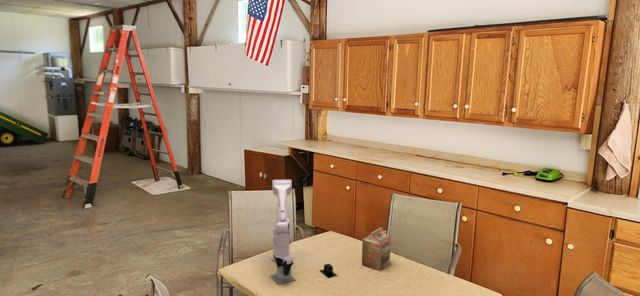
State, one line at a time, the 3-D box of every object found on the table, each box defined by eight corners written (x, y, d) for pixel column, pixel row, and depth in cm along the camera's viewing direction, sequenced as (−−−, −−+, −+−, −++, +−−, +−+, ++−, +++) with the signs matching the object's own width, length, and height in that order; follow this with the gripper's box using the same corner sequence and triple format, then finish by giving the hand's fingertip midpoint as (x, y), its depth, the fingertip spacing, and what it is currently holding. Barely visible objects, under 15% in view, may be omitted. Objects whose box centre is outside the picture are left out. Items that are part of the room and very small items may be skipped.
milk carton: (379, 271, 217) (380, 235, 213) (361, 265, 223) (362, 230, 220) (389, 264, 225) (391, 229, 222) (372, 258, 231) (373, 225, 228)
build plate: (316, 270, 218) (316, 262, 217) (328, 267, 221) (328, 259, 221) (328, 280, 207) (328, 271, 206) (341, 277, 211) (341, 268, 210)
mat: (270, 277, 209) (270, 275, 209) (287, 273, 214) (287, 271, 213) (278, 284, 201) (278, 283, 201) (295, 280, 206) (295, 279, 206)
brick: (276, 277, 208) (276, 267, 207) (287, 274, 211) (287, 264, 210) (279, 280, 204) (279, 270, 204) (291, 277, 207) (291, 268, 206)
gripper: (269, 241, 209) (269, 267, 211) (281, 252, 196) (281, 280, 199) (282, 239, 212) (282, 264, 215) (295, 249, 200) (295, 277, 202)
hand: (283, 272), depth 207 cm, fingers open, 7 cm apart
